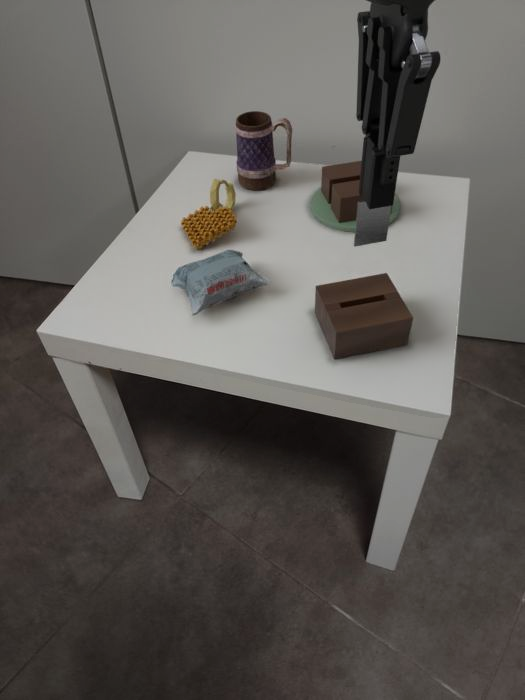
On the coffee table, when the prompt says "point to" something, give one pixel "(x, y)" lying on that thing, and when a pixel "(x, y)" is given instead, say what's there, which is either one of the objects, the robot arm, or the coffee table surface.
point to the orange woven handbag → (211, 217)
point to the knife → (368, 220)
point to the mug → (258, 149)
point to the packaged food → (217, 279)
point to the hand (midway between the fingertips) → (375, 198)
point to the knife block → (362, 315)
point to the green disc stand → (341, 197)
